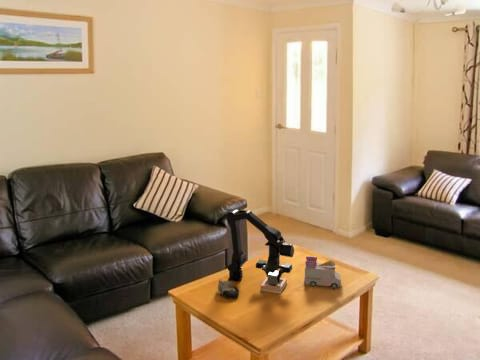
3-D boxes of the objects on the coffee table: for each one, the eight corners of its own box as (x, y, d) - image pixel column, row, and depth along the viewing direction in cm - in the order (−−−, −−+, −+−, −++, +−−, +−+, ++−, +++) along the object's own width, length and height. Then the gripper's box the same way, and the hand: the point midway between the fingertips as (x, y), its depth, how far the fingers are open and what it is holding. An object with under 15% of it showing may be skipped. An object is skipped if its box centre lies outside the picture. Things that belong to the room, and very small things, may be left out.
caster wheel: (238, 302, 240) (220, 302, 238) (234, 288, 250) (216, 288, 247) (241, 292, 237) (222, 291, 235) (237, 278, 247) (218, 277, 245)
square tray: (260, 290, 248) (260, 285, 247) (267, 280, 259) (267, 275, 258) (280, 293, 244) (280, 288, 243) (286, 283, 255) (286, 279, 254)
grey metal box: (267, 284, 249) (267, 274, 247) (270, 280, 254) (271, 269, 253) (276, 286, 247) (276, 275, 246) (279, 281, 252) (279, 271, 251)
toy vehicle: (340, 290, 246) (342, 264, 243) (303, 287, 250) (304, 261, 246) (340, 283, 255) (341, 257, 252) (304, 280, 259) (305, 254, 255)
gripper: (252, 256, 243) (252, 284, 246) (287, 262, 236) (286, 290, 240) (259, 249, 253) (259, 275, 256) (292, 254, 246) (292, 281, 250)
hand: (273, 280), depth 250 cm, fingers closed on grey metal box, 5 cm apart
